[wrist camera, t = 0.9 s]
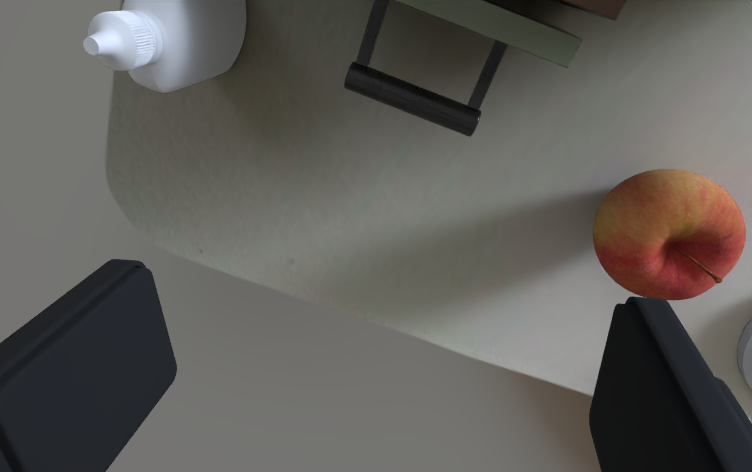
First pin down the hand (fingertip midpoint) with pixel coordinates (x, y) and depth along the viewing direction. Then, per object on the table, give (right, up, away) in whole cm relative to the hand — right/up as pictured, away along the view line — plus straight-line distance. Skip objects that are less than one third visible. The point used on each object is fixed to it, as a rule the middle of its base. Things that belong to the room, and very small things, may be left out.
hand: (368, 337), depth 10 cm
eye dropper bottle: (-9, +15, +21) cm, 28 cm away
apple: (+17, +4, +22) cm, 28 cm away
